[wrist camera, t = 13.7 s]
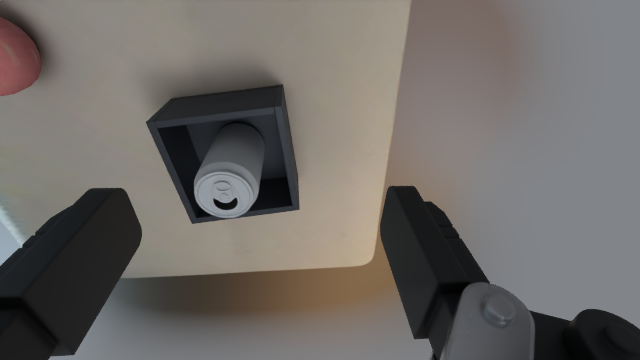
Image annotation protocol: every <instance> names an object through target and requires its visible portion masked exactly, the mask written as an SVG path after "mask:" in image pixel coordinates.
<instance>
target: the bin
mask: <svg viewBox="0 0 640 360" xmlns="http://www.w3.org/2000/svg"><path fill="white" fill-rule="evenodd" d="M232 123H242V124H246V125H249V126H251V127H253V128H254V129H256V130H257V131H258V132H259V133H260V135H261V136H262V138H263V140H264V144H265V152H264V158H263V165H262V172H261V178H260V185H259V192H258V196H257V199H256V201H255V202H254V203H253V204H252V206H251V207H250V209H249V210H248V211H247V212H245V213H244V214H242V215H240V216H237V217H233V218H240V217H248V216H256V215H263V214H271V213H279V212H286V211H293V210H299V188H298V174H297V168H296V162H295V156H294V150H293V144H292V137H291V131H290V125H289V119H288V113H287V107H286V100H285V94H284V88H283V85H279V86H271V87H263V88H254V89H246V90H238V91H229V92H221V93H213V94H204V95H196V96H188V97H179V98H172V99H170V100H169V101H168V102H167V103H166V104H165V105H164V106H163V107H162V108H161V109H160V110H159V111H158V112H157V113H155V114H154V115H153V116H152V117H151V118H150V119H149V120H148V121H147V122H146V124H147V126H148V128H149V130H150V133H151V135H152V137H153V139H154V141H155V144H156V146H157V148H158V150H159V152H160V155H161V157H162V159H163V161H164V163H165V165H166V168H167V170H168V172H169V174H170V176H171V179H172V181H173V183H174V185H175V187H176V190H177V192H178V194H179V196H180V198H181V201H182V203H183V205H184V207H185V209H186V212H187V214H188V216H189V218H190V220H191V223H192V224H194V223H202V222H209V221H217V220H225V219H232V218H221V217H217V216H214V215H211V214H209V213H207V212H206V211H204V210H203V209H202V208H201V207H200V206H199V204H198V203H197V201H196V199H195V194H194V180H195V177H196V175H197V173H198V171H199V169H200V167H201V165H202V163H203V161H204V159H205V157H206V155H207V153H208V151H209V149H210V147H211V145H212V143H213V141H214V139H215V137H216V135H217V133H218V132H219V131H220V130H221V129H222V128H223V127H224V126H226V125H229V124H232Z"/></svg>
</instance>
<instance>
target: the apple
mask: <svg viewBox="0 0 640 360" xmlns="http://www.w3.org/2000/svg"><path fill="white" fill-rule="evenodd" d="M40 71H41V59H40V55H39V52H38V49H37V47H36V45H35V44H34V42H33V41H32V40H31V39H30V37H29V36H28V35H27V34H26V33H25V32H23V31H22V30H21V29H20V28H18V27H17V26H16V25H14V24H13V23H11V22H9V21H7V20H5V19H4V18H2V17H0V96H4V95H10V94H14V93H17V92H19V91H21V90H23V89H26V88H28V87H29V86H31V85H32V84H33V83H34V82H35V81H36V80H37V79H38V77H39V74H40Z"/></svg>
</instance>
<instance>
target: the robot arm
mask: <svg viewBox="0 0 640 360" xmlns="http://www.w3.org/2000/svg"><path fill="white" fill-rule="evenodd" d="M380 232H381V233H380V234H381V240H382V243H383V246H384V249H385V252H386V255H387V258H388V261H389V264H390V267H391V270H392V273H393V276H394V279H395V282H396V285H397V289H398V291H399V295H400V297H401V301H402V303H403V307H404V309H405V313H406V316H407V319H408V321H409V325H410V328H411V331H412V334H413V337H414V339H426V338H429V341H430V344H431V346H432V349H433V351H432V353H431V355H430V359H429V360H640V329H639V328H637V327H636V326H634V325H633V324H631V323H630V322H628V321H627V320H625V319H623V318H621V317H619V316H617V315H614V314H612V313H609V312H606V311H602V310H598V309H587V310H584V311H582V312H580V313H579V314H578V315H577V316H576V317H575V318H574V319H573V320H572V321H568V320H565V319H561V318H557V317H553V316H549V315H545V314H541V313H537V312H533V311H530V310H528V309H527V307H526V306H525V305H524V304H523V303H522V302H521V301H520V300H519V299H518V298H517V297H516V296H514V295H513V294H512V293H510V292H509V291H507V290H505V289H503V288H501V287H499V286H496V285H493V284H490V282H489V281H488V279H487V278H486V276H485V275H484V273H483V271H482V270H481V268H480V267H479V266H478V264H477V262H476V261H475V259H474V258H473V256H472V254H471V253H470V251H469V250H468V248H467V247H466V245H465V244H464V242H463V241H462V239H460V238H459V234H458V233H457V231H456V230H455V228H453V227H452V224H451V222H450V220H449V219H448V217H447V216H446V214H445V213H444V212H443V211H442V210H441V209H439V208H438V207H437V206H436V205H435V204H433V203H432V202H424V201H423V199H422V198H421V196H420V194H419V192H418V191H417V189H416V188H415V187H414V186H390V187H389V188H388V190H387V194H386V199H385V204H384V209H383V213H382V218H381V224H380ZM35 233H36V234H35V236H31V237H30V238H29V239H28V240H27V241H26V242H25V243H24V244H23V245H22V246H23V247H22V248H19V249H18V250H17V251H15V253H13V254H12V255H11V256H10V257H9V258H8V259H7V260H6V261H5V262H4V263H3V264H2V265H1V266H0V360H48V359H49V358H50V356H65V355H74V354H75V352H76V351H77V349H78V347H79V346H80V344H81V342H82V341H83V339H84V337H85V336H86V334H87V332H88V331H89V329H90V327H91V326H92V324H93V322H94V321H95V319H96V317H97V316H98V314H99V312H100V311H101V309H102V307H103V306H104V304H105V302H106V301H107V299H108V297H109V295H110V294H111V292H112V290H113V289H114V287H115V285H116V283H117V282H118V280H119V279H120V277H121V275H122V274H123V272H124V270H125V269H126V267H127V265H128V264H129V262H130V260H131V259H132V257H133V255H134V254H135V252H136V250H137V249H138V247H139V245H140V242H141V238H142V229H141V225H140V223H139V221H138V218H137V216H136V213H135V211H134V209H133V206H132V204H131V202H130V199H129V197H128V195H127V193H126V191H125V190H124V189H122V188H92V189H89V190H88V191H87V192H86V193H85V194H84V195H83V196H82V197H81V198H79V199H78V200H77V201H76V202H75V203H74V204H73V205H72V206H70V207H68V208H66V209H65V210H63V211H61V212H60V213H58V214H56V215H55V216H53V217H51V218H50V219H49V220H48V221H47V222H46V223H45V224H44V225H43V226H42V227H41V228H40V229H38V230H37V231H36V232H35Z"/></svg>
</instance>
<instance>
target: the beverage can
mask: <svg viewBox="0 0 640 360" xmlns="http://www.w3.org/2000/svg"><path fill="white" fill-rule="evenodd" d="M264 152H265V144H264V140H263V138H262V136H261V135H260V133H259V132H258V131H257V130H256V129H254V128H253V127H251V126H249V125H246V124H242V123H232V124H229V125H226V126H224V127H223V128H222V129H221V130H220V131H219V132H218V133H217V135H216V137H215V139H214V141H213V143H212V145H211V147H210V149H209V151H208V153H207V155H206V157H205V159H204V161H203V163H202V165H201V167H200V169H199V171H198V173H197V175H196V177H195V180H194V194H195V199H196V201H197V203H198V204H199V206H200V207H201V208H202V209H203V210H204V211H206V212H207V213H209V214H211V215H214V216H217V217H221V218H233V217H237V216H240V215H242V214H244V213H245V212H247V211H248V210H249V209H250V207H251V206H252V204H253V203H254V202H255V201H256V199H257V196H258V192H259V185H260V178H261V172H262V165H263V158H264Z"/></svg>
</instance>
